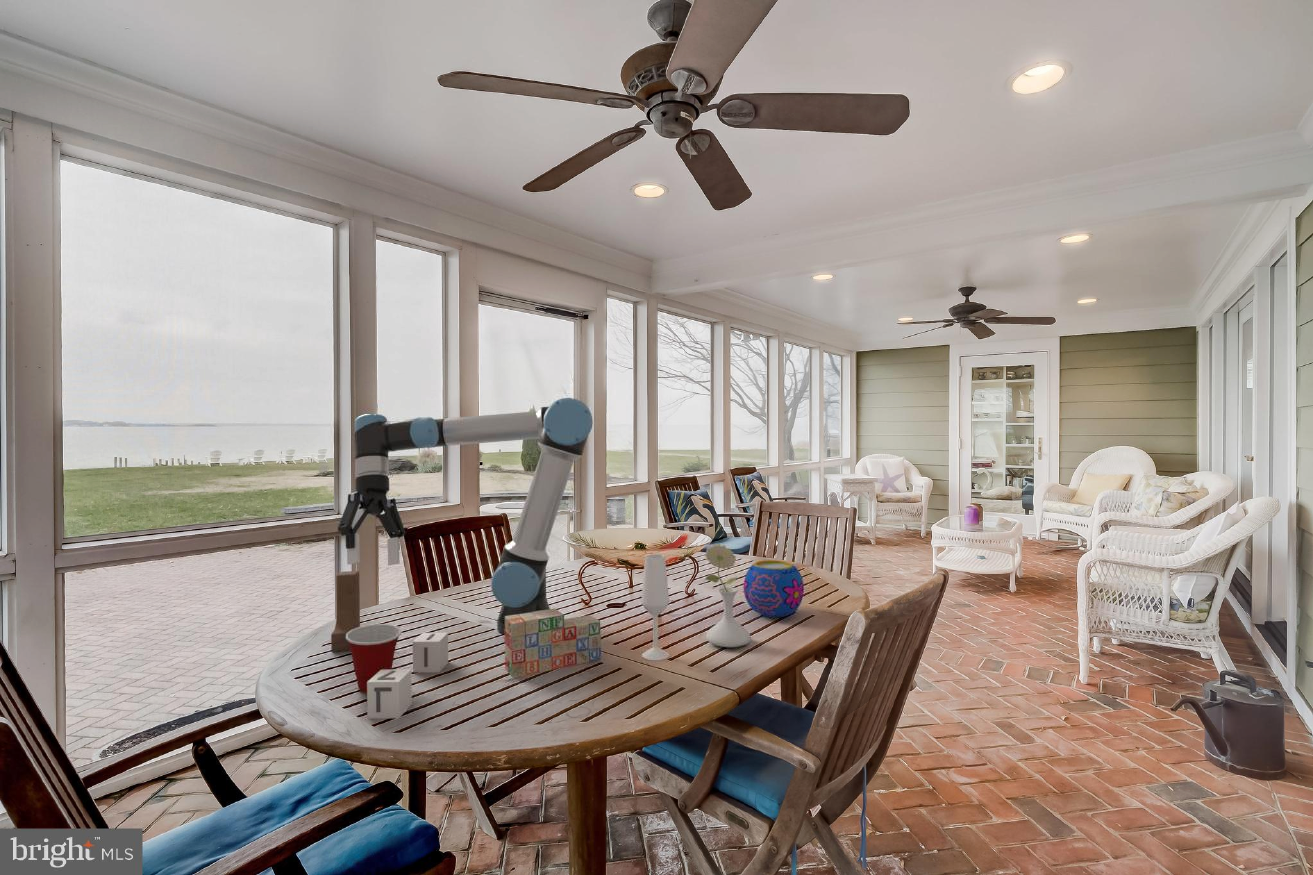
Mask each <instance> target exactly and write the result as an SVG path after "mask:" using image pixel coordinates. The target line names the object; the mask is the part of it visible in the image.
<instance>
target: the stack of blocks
mask: <svg viewBox="0 0 1313 875" xmlns="http://www.w3.org/2000/svg"><path fill="white" fill-rule="evenodd" d="M503 636H504V654H505V656H504V660H505V661H504V663H505V665H504V666H505V667H504V668H505V670H506V671H507V673H509V675H510V676H511V678H517V677H522V676H529V675H532V674H538V673H543V672H544V673H545V672H549V671H552V670H557V669H562V668H565V667H566V668H567V667H572V666H576V665H582V664H586V663H592V662H596V661H600V660H601V659H602V658H601V657H602V654H601V653H602V648H601V647H602V644H601V643H602V640H601V639H602V636H601V621H600V620H599V619H597V618H595V617H594V616H593V615H591V614H589V615H583V616H575V617H571V618H565V614H564V613H563V612H562V611H559V609H557V608H556V607H555V608H550V609H548V610H541V611H535V612H530V613H524V614H518V615H510V616H505V630H504V635H503Z"/></svg>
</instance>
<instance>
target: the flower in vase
mask: <svg viewBox="0 0 1313 875" xmlns="http://www.w3.org/2000/svg"><path fill="white" fill-rule="evenodd" d="M734 553H735V552H734V551H733V550H731V548H727V546H726V545H725V544H724V545H720V544H718V543H717V545H716V544H713V545H711V546H708V548H706V551H705V554H704V556H705V557H706V560H707V561H709V562H708V563H709V564H710V565H712V566H714V567H717V575H715V574H712V573H711V574H708V575H707V576H706V577H705V578H704V580H706V581H708V582H709V581H710V582H711V583H712V582H713V583H718V582H719V581H720V582H721V585H722V586H723V587H720V588H718V589H717V591H718V592H719V593H720V595H721V597H722V603H723V616H722V619H720V621H719V622H718V623H716V624H714V626H712V627H711V628H710V629H709V630H708V631H707V632H706V635H705V638H706V640H707V641H708V643H710V644H712V645H714V646H718V647H722V648H739V647H742V646H743V647H744V645H747V644H749V643H750V641H751V639H752V636H751V633H750V632H749V631H748V629H746V628H745V627H744V626H743V625H741V624H740V623H739V622H737V620H736V619H735V617H734V614H733V607H734V600H735V596H736V594H737V593H738V592H739V589H738V588H736V587H731V586H730V587H729V586H726V585H730V584H732V583H735V581H736V580H737V579H738V577H739V576H738V575H737V576H736V577H732V578H730V579H728V580H727V581H726V582H723V580H722V578H721V577H720V576H721V575H720V569H723V570H725V569H730V568H731V567H734V566H735V563H736V561H737V559H736V555H735V554H734Z"/></svg>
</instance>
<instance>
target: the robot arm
mask: <svg viewBox="0 0 1313 875" xmlns="http://www.w3.org/2000/svg"><path fill="white" fill-rule="evenodd" d="M387 418H388V417H386V416H385V415H382V414H378V413H369V414H368V413H367V414H366V413H365V414H362V415H360V416H357V417H356V418H355V421H354V433H353V437H354V456H355V457H354V461H355V463H354V464H355V467H354V468H355V477H356V478H355V480H354V481H355V485H354V486H355V492H351V493H348V495H347V504H346V506H345V508H344V510H343V514H342V516H341V519H340V521H339V524H338V527H337V531H338V532H339V533H340V534H341V536H345V549H346V558H347V559H346V561H347V565H353V564H359V563H361V556H360V554H361V553H360V551H361V550H360V549H361V548H360V547H361V546H360V534H359V533H357V532H358V530H359V529H360V528H361V525H362V524H363V522H364V521H365V519H366V517H367V516H368V515H371V516H375V517H376V518H377V519H378V521H380V523H381V525H382V527H383V528H384V530H385V532H386V533H387V536H388V537H389V538H387V539H386V542H387V565H388V566H393V565H394V566H395V565H399V564H400V548H401V547H400V546H401V544H400V538H402V537H404V536H406V530H405V527H404V523H403V522H402V519H401V516H400V514H399V513H400V512H399V510H398V508H397V507H398V506H397V501H396V498H394V497H393V498H387V493H388V492H389V491H390V477H389V474H390V463H389V462H390V461H389V460H390V459H389V453H390V452H398V451H406V450H417V449H429V448H431V449H432V448H439V447H448V446H462V445H473V444H474V445H475V444H486V443H498V442H511V441H525V440H537V439H538V442H537V445H538V446H539V448H540V452H541V453H540V455H539V458H538V461H537V464H536V468H535V471H534V474H533V476H532V480H531V483H530V486H529V489H528V493H527V495H526V499H525V501H524V505H523V507H522V510H521V514H520V517H519V520H518V523H517V526H516V529H515V531H514V534H513V535H514V536H513V539H512V541H510V542H508V543H506V544H504V546H503V548H502V549H503V550H502V553H501V556H500V558H499V562H498V564H497V568H496V569H495V570H494V572H493V574H492V576H491V583H490V584H491V592H492V594H493V596H494V597H495V599H496V601H498V602H499V603H500V604H502V605H501V608H500V611H499V614H498V617H497V621H496V630H497V632H499V633H501V634H504V630H505V616H510V615H518V614H524V613H530V612H535V611H541V610H548V609H551V608H550V605H549V602H548V598H547V565H548V563H549V559H550V557H549V555H548V553H547V551H546V550H547V546H548V543H549V540H550V537H551V534H552V530H553V527H554V523H555V520H556V518H557V514H558V511H559V509H560V506H561V502H562V500H563V496H564V493H565V489H566V486H567V483H568V480H569V477H570V474H571V471H572V468H573V465H574V463H575V461H577V460H578V459H580V458H582V457H583V456H582V455H583V453H584V452H585V447H586V444H587V442H588V437H589V435H590V433H591V431H592V429H593V425H594V424H593V416H592V413H591V410H590V409H589V407H588V406H587V405H586V404H585V403H584V402H583V401H581V400H578V399H576V398H572V397H563V398H560V399H557V400H555V401H554V402H552V403H551V404H550V405H549V406H541V407H540V408H539V409H538V410H536V411H535V410H534V411H523V412H522V411H521V412H511V413H497V414H486V415H485V414H484V415H474V416H473V415H472V416H461V417H459V416H458V417H450V418H449V417H448V418H436V419H435V418H433V417H429V416H427V417H416V418H410V419H403V420H396V421H388V419H387Z"/></svg>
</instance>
